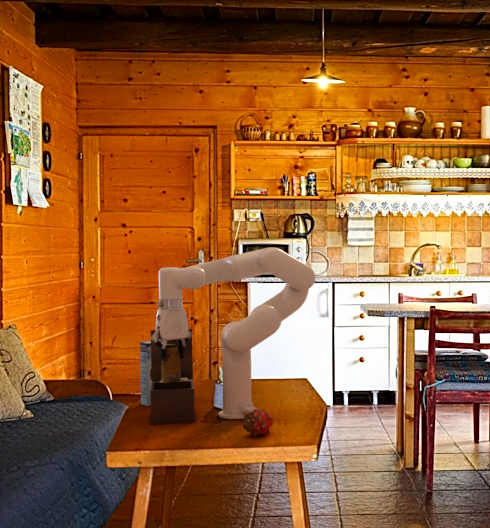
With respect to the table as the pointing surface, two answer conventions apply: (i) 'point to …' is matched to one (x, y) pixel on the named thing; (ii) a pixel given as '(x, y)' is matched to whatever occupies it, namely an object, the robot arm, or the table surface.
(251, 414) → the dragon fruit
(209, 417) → the table surface
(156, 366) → the dark brown upright block
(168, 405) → the chest
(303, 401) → the table surface
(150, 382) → the gum box
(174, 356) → the condiment
